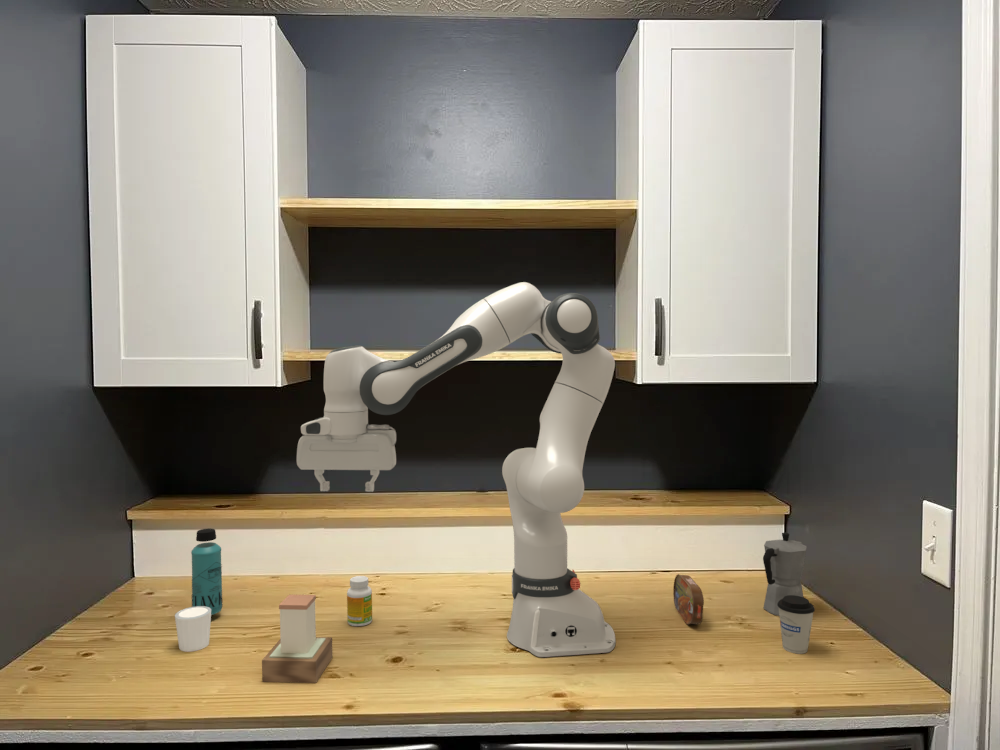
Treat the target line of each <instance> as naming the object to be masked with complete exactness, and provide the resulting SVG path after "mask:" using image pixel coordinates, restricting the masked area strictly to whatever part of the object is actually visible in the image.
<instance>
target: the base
mask: <svg viewBox="0 0 1000 750" xmlns="http://www.w3.org/2000/svg"><path fill="white" fill-rule="evenodd" d="M333 655H334V653H333V637H326V636H324V637H323V636H321V637H320V636H316V642H315V643H314V645H313V646H312V647H311V649H310V650H309V651H308V653H281V639H278V641H277V642H276V643H275V644H274V646H273V647H272V648H271V649H270V650H269V651H268V652H267V654H266V655H265V656H264V657H263V658H262V660H261V674H262V676H261V677H262V680H261V682H262V683H265V682H266V683H299V684H300V683H311V684H316V683H317V682H318V680H319V679H320V678H321V676H322V675H323V673H324V671H325V670H326V668H327V667H328V665H329V664H330V662H331V661H332V659H333Z"/></svg>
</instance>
